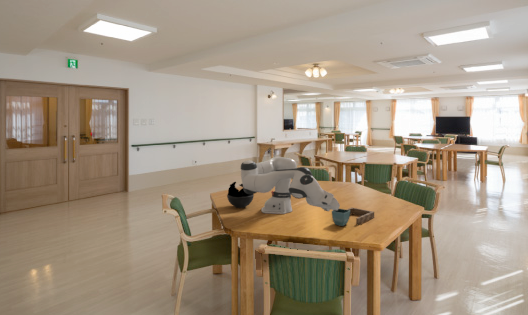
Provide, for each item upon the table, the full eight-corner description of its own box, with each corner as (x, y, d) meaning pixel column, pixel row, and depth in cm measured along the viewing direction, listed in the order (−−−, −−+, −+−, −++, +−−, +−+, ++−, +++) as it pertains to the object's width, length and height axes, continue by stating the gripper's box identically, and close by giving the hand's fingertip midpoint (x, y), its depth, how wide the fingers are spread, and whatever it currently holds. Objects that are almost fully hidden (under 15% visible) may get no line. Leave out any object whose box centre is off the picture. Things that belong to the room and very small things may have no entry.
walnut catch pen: (358, 224, 203) (358, 218, 202) (335, 219, 214) (335, 213, 214) (374, 217, 218) (374, 211, 218) (351, 213, 229) (352, 207, 229)
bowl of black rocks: (257, 209, 240) (256, 184, 238) (230, 211, 234) (229, 186, 232) (249, 203, 259) (249, 179, 257) (224, 205, 253) (224, 181, 251)
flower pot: (337, 221, 210) (337, 208, 209) (350, 224, 204) (350, 210, 203) (331, 225, 203) (331, 210, 202) (344, 227, 197) (344, 213, 196)
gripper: (300, 198, 189) (310, 211, 197) (330, 203, 175) (340, 218, 182) (305, 189, 191) (315, 202, 199) (335, 194, 177) (344, 208, 185)
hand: (327, 210), depth 191 cm, fingers closed
